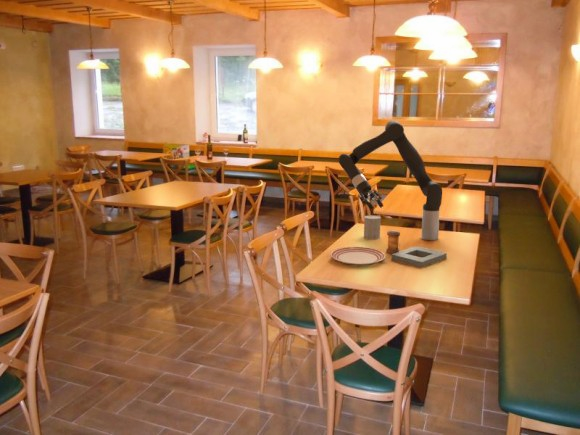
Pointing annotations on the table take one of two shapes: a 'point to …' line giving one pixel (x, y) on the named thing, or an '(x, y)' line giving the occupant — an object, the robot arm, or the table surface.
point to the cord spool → (393, 241)
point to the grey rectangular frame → (411, 258)
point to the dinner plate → (358, 255)
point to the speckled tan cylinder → (372, 227)
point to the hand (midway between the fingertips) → (377, 207)
